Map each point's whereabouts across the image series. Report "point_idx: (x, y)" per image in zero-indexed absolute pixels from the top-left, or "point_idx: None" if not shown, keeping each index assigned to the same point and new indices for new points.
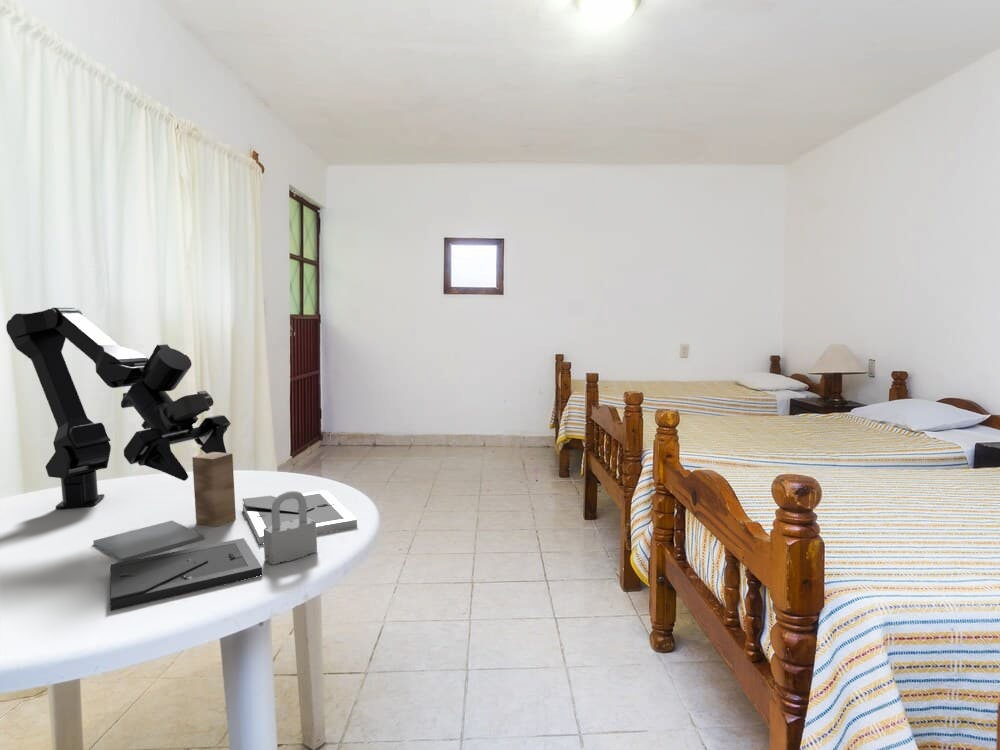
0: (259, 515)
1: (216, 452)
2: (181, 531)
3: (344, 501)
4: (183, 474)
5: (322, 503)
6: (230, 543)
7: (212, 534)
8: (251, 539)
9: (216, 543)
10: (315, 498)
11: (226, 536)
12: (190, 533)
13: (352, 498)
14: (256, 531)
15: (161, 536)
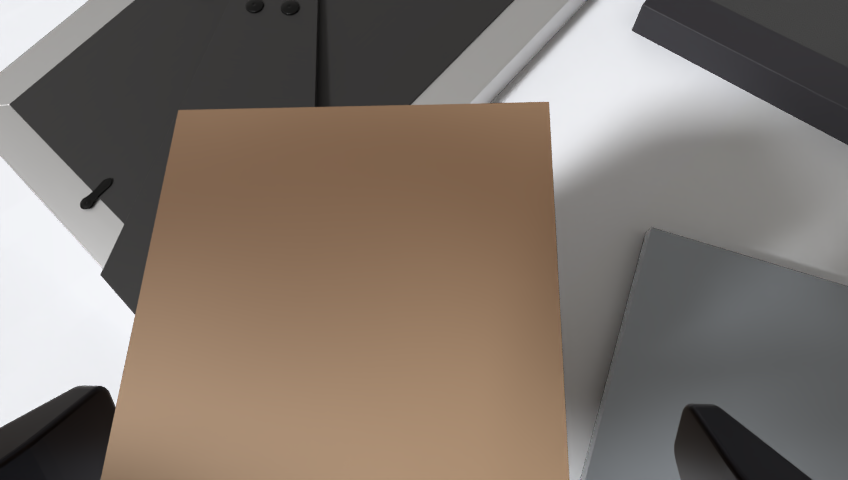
0: None
1: (138, 399)
2: (662, 386)
3: (56, 19)
4: (752, 439)
5: (165, 2)
6: (712, 8)
7: (582, 245)
8: (563, 53)
9: (742, 53)
10: (95, 71)
11: (576, 167)
12: (662, 312)
13: (14, 14)
14: (553, 19)
15: (769, 429)
